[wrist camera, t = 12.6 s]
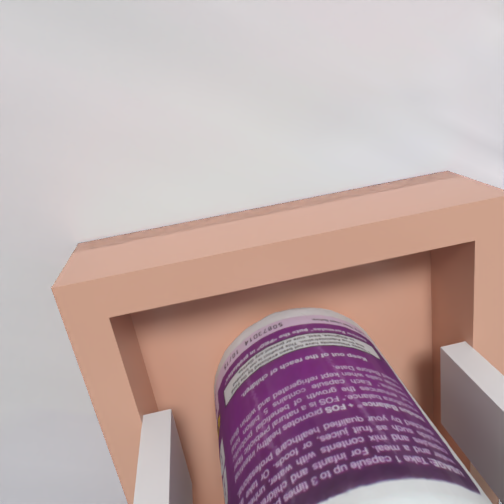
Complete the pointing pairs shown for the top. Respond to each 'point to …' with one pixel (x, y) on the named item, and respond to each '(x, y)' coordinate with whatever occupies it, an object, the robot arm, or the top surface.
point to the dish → (282, 301)
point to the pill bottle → (326, 421)
